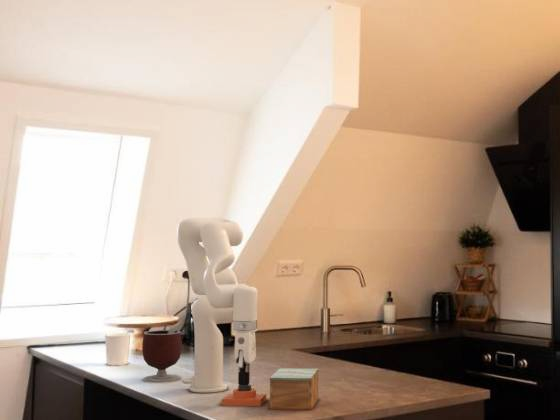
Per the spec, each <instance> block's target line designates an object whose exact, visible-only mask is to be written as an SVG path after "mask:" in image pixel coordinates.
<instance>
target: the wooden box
mask: <svg viewBox="0 0 560 420" xmlns="http://www.w3.org/2000/svg"><path fill="white" fill-rule="evenodd" d="M318 401H319V371H318V372H317V374H316V375H315V376H314V378H313V379H312V380H311V381H284V380H270V379H269V410H295V411H296V410H298V411H299V410H300V411H302V410H303V411H304V410H305V411H306V410H307V411H312V410H313V408H314V406H315V405H316V403H317V402H318Z"/></svg>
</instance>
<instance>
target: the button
mask: <svg viewBox="0 0 560 420" xmlns="http://www.w3.org/2000/svg"><path fill="white" fill-rule="evenodd" d="M251 388H252V385H251V384H250V383H249V384H248V385H239V384H238V386H237V389H238V391H251Z"/></svg>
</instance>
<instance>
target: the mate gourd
mask: <svg viewBox="0 0 560 420" xmlns="http://www.w3.org/2000/svg"><path fill="white" fill-rule="evenodd" d="M181 324H182V323H181V322H180V321H179V322H177V323H176V324H173V325H172V326H171V327H170V328H169V329H161V330H160V329H159V330H148V331H143V337H142V343H141V345H142V346H141V347H142V348H141V351H142V357H143V360H144V362H145V363H146V364H147V366H149V367H152V368H154V369H156V370H157V372H156V374H152V375H147V376H144V377H143V381H144V382H147V383H167V382H174V381H175V382H176V381H177V380H180V376H179V375H177V374H169V373H168V372H167V369H169V368H170V367H173V366H174V365H176V364H177V363H178V361H179V360H180V357H181V356H182V355H181V354H182V350H183V349H182V348H183V347H182V346H183V342H182V336H181V335H182V334H181V331H180V330H177V328H178V326H179V325H181Z"/></svg>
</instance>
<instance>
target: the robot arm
mask: <svg viewBox="0 0 560 420" xmlns="http://www.w3.org/2000/svg"><path fill="white" fill-rule="evenodd" d="M176 238H177V243H178V247H179V249H180V251H181V253H182V255H183V257H184V261H185V263H186V269H187V273H188V277H189V283H190V287H191V289H192V292H193V293H194V294H195V295H198V296H201V297H199V298H196V299H195V300H194V301H193V303H192V306H191V315H192V320H193V328H194V329H193V330H194V362H193V363H194V364H193V366H194V367H193V368H194V369H193V370H194V371H193V374H194V375H193V376H191V377H188V376H183V377H182V379H181V382H182V384H188V385H189V384H190V386H189V392H191V393H192V392H193V393H201V394H202V393H203V394H204V393H205V394H206V393H219V392H223V391H226V390H228V384H226V383H224V336H223V333H222V332H221V330H220V328H219V327H218V326H217V325H220V324H232V332H235V335H234V336H235V337H234V363H235V364H237V366H238V372H237V373H238V375H237V376H238V378H237V381H238V382H237V384H238V386H239V385H248V384H249V385H250V382H251V381H250V374H251V373H250V370H251V363H253V362H254V361H255V360H256V358H257V345H256V344H257V343H256V341H257V340H256V332H257V331H258V303H259V302H258V299H259V298H258V297H259V292H258V288H257V287H255V286H250V285H247V284H246V283H239V282H238V278H237V275H236V273H235V272H234V270H233V269H231V268H229V267H231V266H232V265H233V264H234V262H235V259H236V257H235V253H234V252H233V251H234V250H233V248H232V247H238V246H239V245H241V243H242V242H243V238H244V232H243V229H242V227H241V226H240V224H238V223H237V222H235V221H234V220H229V219H225V218H218V217H217V218H215V217H213V218H211V217H210V218H209V217H190V218H189V217H188V218H186V219H183V220H182V221H180V222H179V223H178V225H177V229H176ZM200 243H202V245H203V246H202V245H201V244H200Z"/></svg>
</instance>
